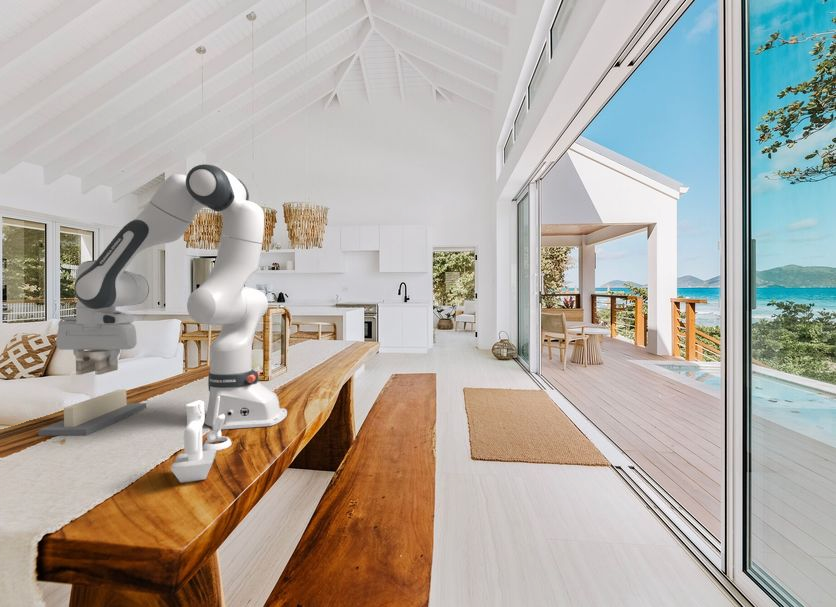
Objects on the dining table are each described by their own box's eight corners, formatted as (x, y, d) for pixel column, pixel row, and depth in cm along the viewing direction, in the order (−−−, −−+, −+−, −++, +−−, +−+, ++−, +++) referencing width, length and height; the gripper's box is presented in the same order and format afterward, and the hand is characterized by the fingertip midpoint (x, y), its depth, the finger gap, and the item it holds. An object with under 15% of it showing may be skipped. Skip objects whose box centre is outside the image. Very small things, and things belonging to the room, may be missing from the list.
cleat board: (146, 407, 126) (146, 387, 126) (86, 435, 102) (85, 410, 102) (107, 408, 125) (107, 388, 125) (38, 435, 101) (37, 410, 101)
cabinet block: (117, 369, 117) (117, 349, 117) (97, 375, 109) (97, 353, 109) (95, 369, 117) (95, 349, 117) (73, 375, 109) (73, 353, 109)
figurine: (168, 490, 74) (167, 411, 74) (180, 468, 83) (179, 398, 82) (211, 483, 76) (210, 407, 76) (218, 463, 85) (217, 395, 85)
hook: (224, 437, 89) (206, 422, 90) (212, 465, 93) (194, 450, 94) (244, 423, 95) (227, 409, 96) (232, 450, 99) (215, 435, 100)
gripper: (49, 317, 109) (50, 367, 110) (124, 317, 110) (125, 366, 111) (68, 316, 116) (69, 363, 116) (139, 316, 116) (140, 362, 117)
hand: (97, 364), depth 113 cm, fingers closed on cabinet block, 6 cm apart
